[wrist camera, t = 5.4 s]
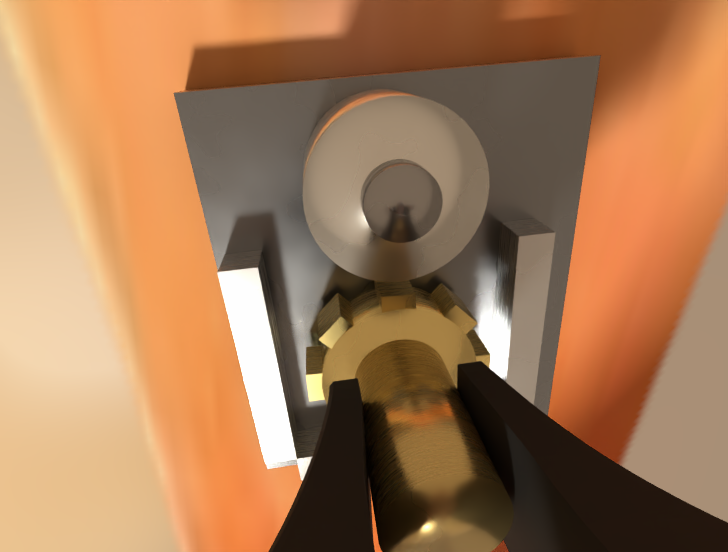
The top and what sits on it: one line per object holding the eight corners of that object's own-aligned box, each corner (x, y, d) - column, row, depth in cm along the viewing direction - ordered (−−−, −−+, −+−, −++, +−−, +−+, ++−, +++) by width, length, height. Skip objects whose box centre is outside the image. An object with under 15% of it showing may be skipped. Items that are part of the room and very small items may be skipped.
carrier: (533, 407, 17) (594, 500, 14) (269, 447, 17) (259, 555, 13) (578, 55, 12) (700, 53, 8) (184, 90, 11) (124, 104, 7)
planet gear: (468, 405, 15) (560, 591, 10) (315, 423, 14) (319, 629, 9) (476, 265, 13) (601, 401, 7) (298, 281, 12) (291, 440, 7)
